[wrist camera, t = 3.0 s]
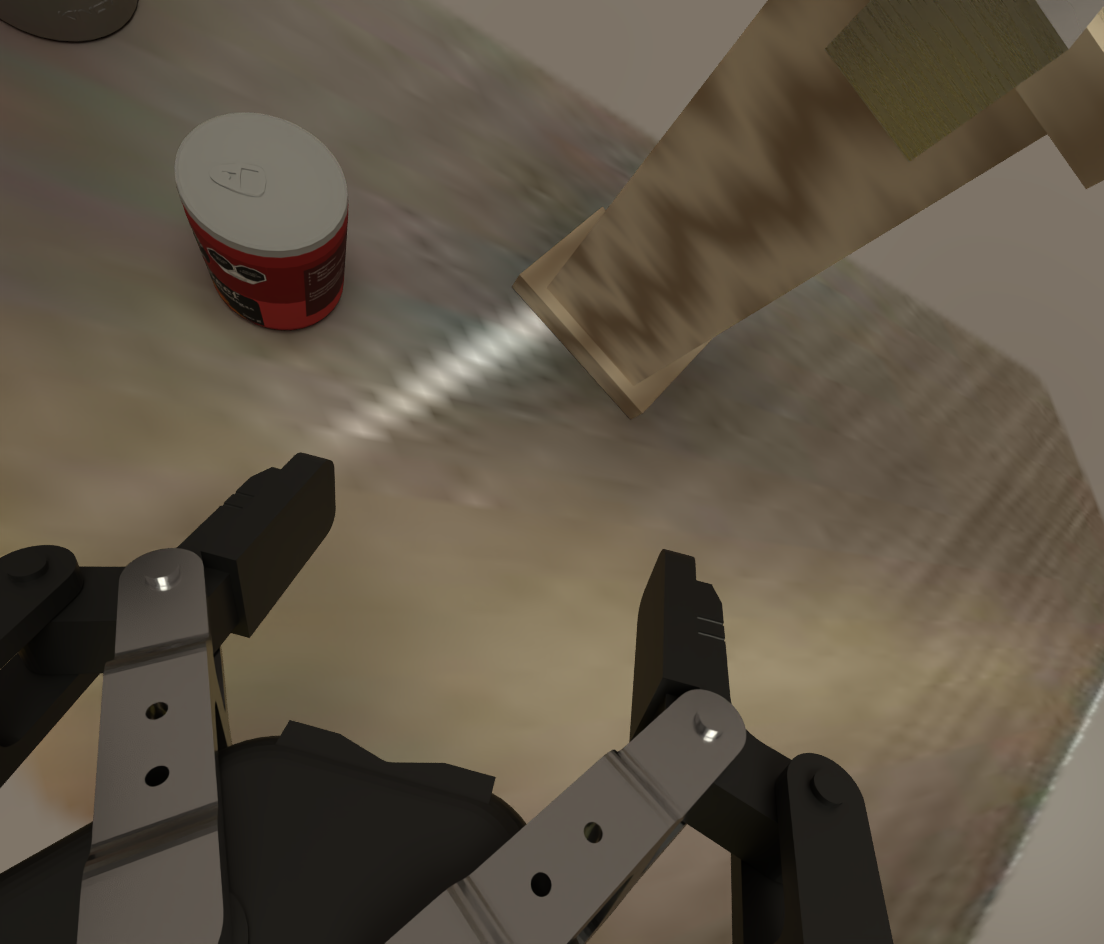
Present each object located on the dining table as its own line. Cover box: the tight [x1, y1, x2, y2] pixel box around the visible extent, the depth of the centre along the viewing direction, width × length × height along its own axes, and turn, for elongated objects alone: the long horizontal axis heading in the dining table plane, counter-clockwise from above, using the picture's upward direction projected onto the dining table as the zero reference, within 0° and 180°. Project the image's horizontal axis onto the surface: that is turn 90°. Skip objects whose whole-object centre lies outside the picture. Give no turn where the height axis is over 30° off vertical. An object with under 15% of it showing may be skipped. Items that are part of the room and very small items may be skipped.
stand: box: [512, 0, 1104, 419], centre depth 33 cm, size 14×10×33 cm
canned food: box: [174, 112, 348, 330], centre depth 35 cm, size 8×8×11 cm
